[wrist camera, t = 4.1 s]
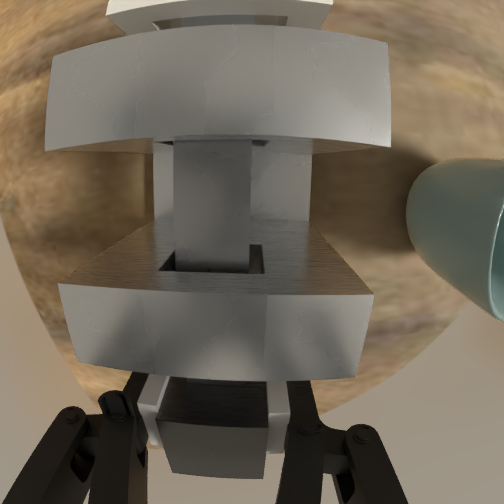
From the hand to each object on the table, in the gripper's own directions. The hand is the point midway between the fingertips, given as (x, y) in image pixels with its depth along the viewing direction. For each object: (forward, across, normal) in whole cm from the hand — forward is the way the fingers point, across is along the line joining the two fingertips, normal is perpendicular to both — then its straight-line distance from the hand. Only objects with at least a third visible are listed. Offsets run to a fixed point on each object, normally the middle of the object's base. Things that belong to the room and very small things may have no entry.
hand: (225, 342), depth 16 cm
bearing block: (+5, 0, +8) cm, 9 cm away
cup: (+5, +14, +7) cm, 17 cm away
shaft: (0, 0, +8) cm, 8 cm away
